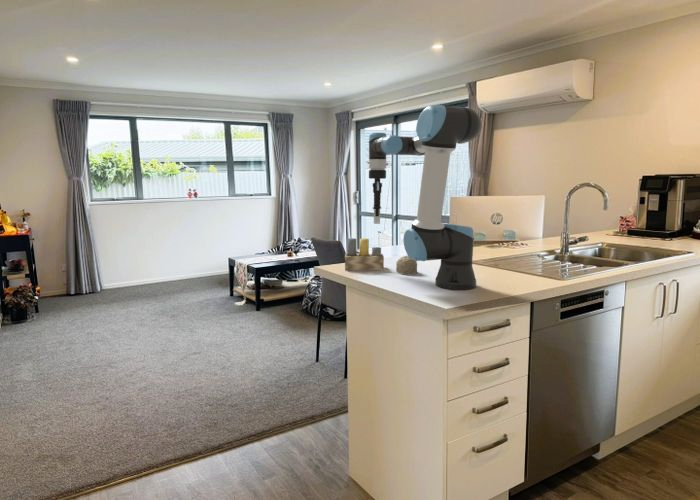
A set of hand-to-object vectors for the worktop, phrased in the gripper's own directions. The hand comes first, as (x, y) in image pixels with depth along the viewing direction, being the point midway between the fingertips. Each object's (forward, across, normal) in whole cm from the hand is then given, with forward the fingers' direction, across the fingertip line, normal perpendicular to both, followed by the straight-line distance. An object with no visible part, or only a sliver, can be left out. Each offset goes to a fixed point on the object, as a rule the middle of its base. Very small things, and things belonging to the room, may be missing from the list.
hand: (376, 223), depth 207 cm
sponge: (+21, +8, +13) cm, 25 cm away
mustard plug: (+16, 0, -6) cm, 17 cm away
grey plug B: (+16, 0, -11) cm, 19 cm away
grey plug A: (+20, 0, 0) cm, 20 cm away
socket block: (+20, 0, -6) cm, 21 cm away
